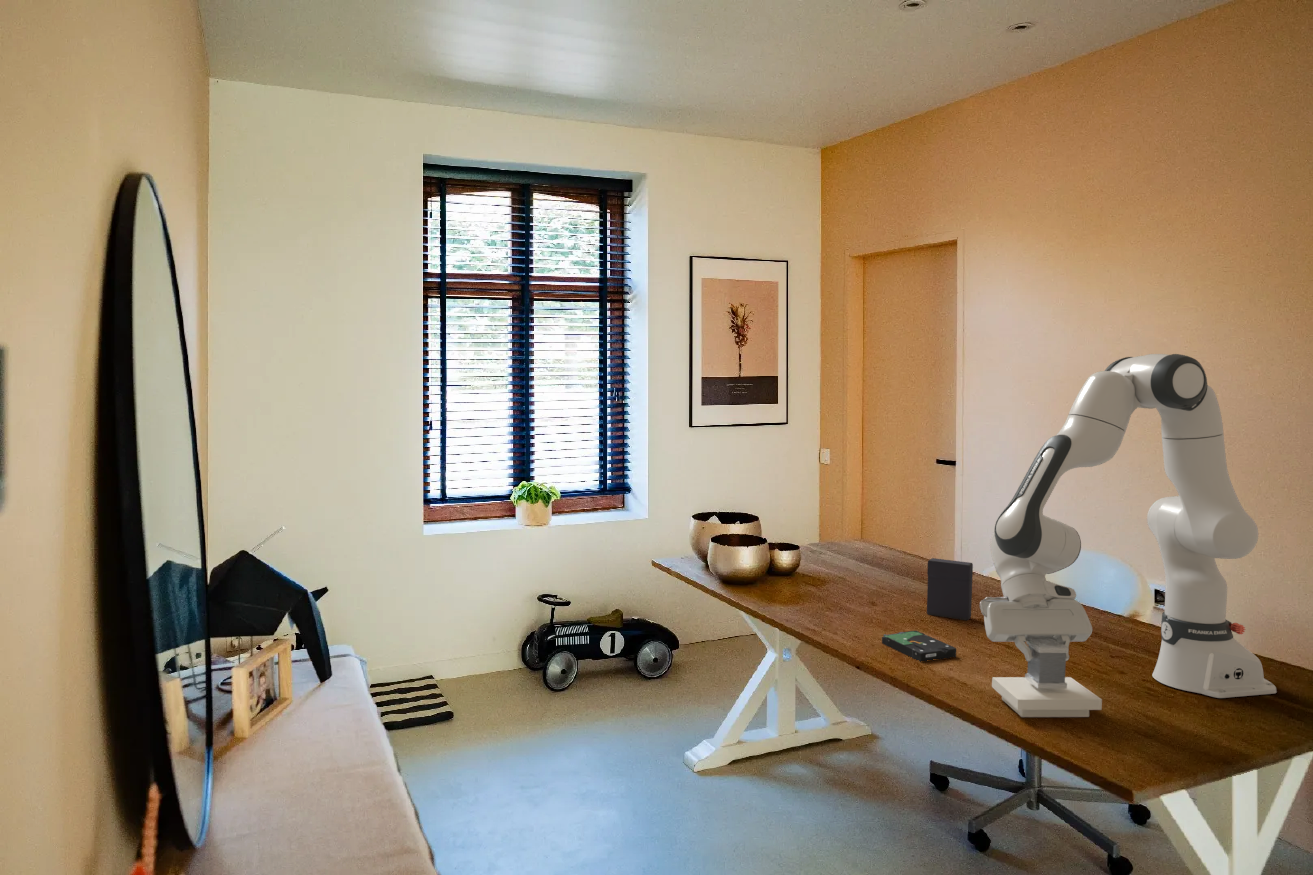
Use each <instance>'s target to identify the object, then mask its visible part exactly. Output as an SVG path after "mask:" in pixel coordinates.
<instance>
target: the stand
mask: <svg viewBox="0 0 1313 875" xmlns="http://www.w3.org/2000/svg"><path fill="white" fill-rule="evenodd" d="M1065 682H1066V683H1067V689H1038V688H1037V687H1035V686H1034V685H1033V684H1032V683H1030V682H1029V681H1028V680H1027V679H1025V676H1022V677H1021V676H1019V677H1018V676H1013V677H1011V676H1009V677H1008V676H1006V677H1003V676H998V677H997V676H996V677H994V676H993V677H992V679H991V688H992V689H994V690H995V692H997V693H998V694H999V695H1000V696H1001V700H1002V701H1003V702H1004V703H1005V704H1007V705H1008V706H1009V707H1010V709H1012V710H1013V711H1014V712H1015V713H1017V715H1019V716H1020V717H1021V718H1089V717H1090V711H1102V709H1103V708H1102V707H1103V706H1102V705H1103V704H1102V703H1103V699H1102V698H1101V697H1099V696H1098V695H1096V694H1095V693H1093V692H1092V691H1091V690H1089V689H1088V688H1087V687H1085V686H1083V685H1082V684H1081V683H1079V682H1078V681H1076V680H1075V679H1074V678H1072V677H1071V676H1065Z"/></svg>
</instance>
